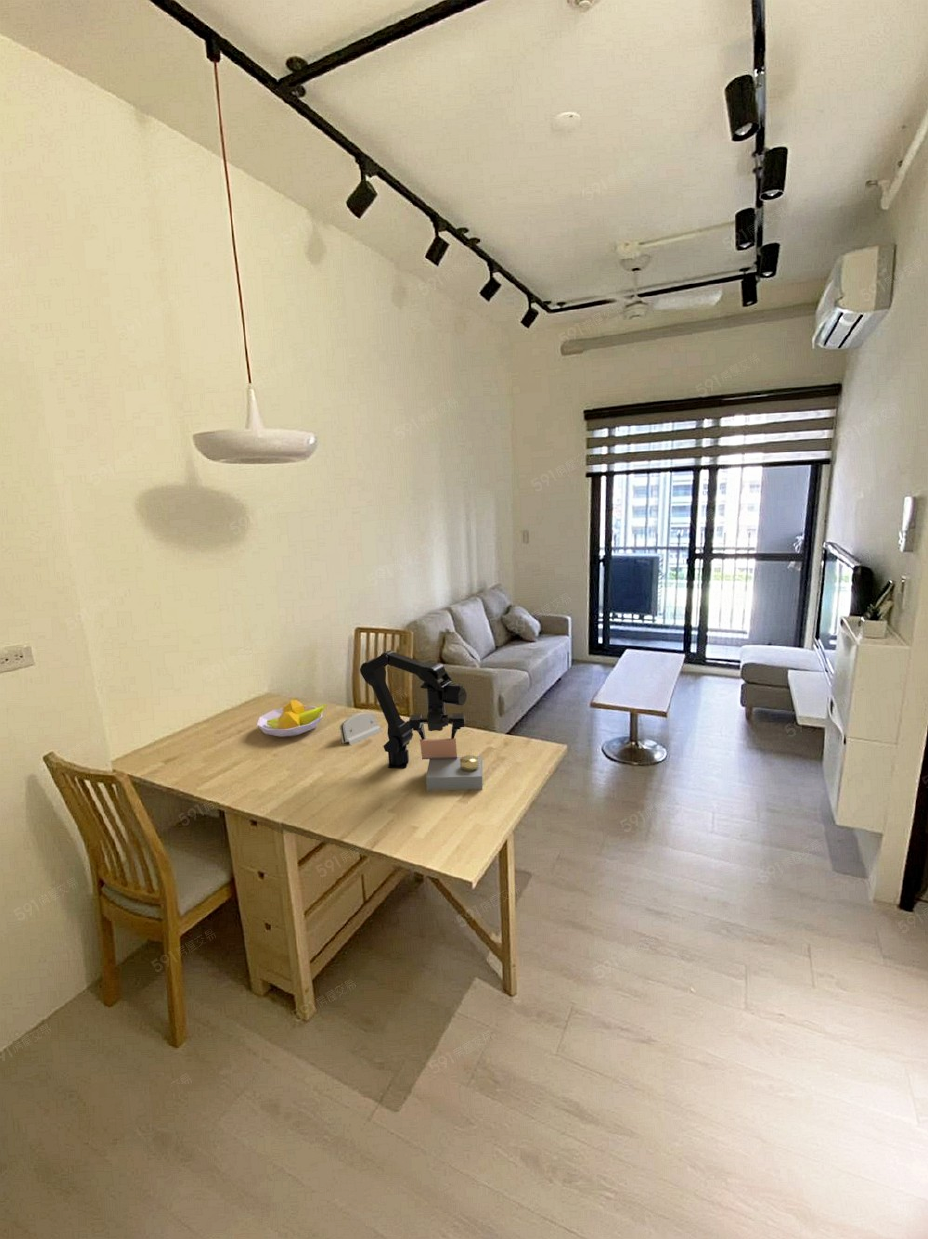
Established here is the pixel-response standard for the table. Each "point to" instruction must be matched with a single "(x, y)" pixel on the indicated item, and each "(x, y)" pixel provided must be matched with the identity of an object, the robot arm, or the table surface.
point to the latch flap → (438, 748)
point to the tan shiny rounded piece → (469, 763)
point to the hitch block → (452, 775)
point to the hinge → (359, 728)
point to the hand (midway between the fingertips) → (438, 744)
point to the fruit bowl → (290, 719)
